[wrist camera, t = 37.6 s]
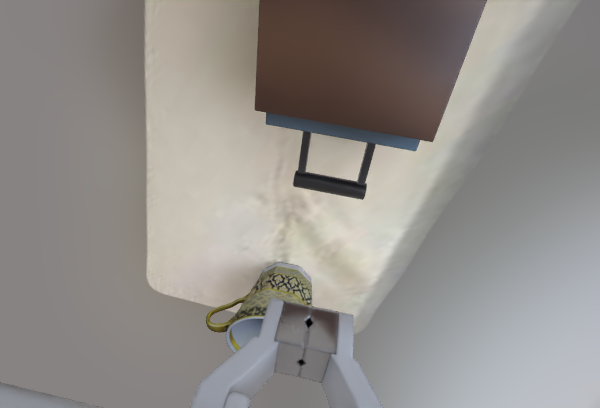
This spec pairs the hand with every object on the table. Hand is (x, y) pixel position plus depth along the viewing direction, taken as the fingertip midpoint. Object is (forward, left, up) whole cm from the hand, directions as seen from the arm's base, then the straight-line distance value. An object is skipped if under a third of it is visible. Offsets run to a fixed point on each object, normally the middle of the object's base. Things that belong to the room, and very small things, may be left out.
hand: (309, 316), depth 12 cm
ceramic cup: (+24, -5, -23) cm, 33 cm away
